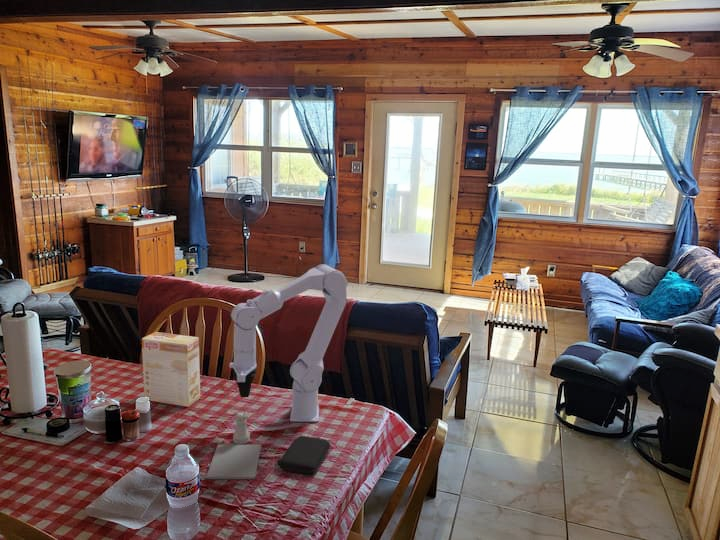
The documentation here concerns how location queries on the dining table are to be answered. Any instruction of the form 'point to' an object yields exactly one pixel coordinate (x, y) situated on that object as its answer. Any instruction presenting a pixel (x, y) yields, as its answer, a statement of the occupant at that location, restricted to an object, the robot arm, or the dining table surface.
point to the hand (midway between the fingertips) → (244, 396)
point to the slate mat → (234, 462)
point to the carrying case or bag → (304, 456)
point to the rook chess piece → (241, 429)
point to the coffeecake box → (171, 368)
